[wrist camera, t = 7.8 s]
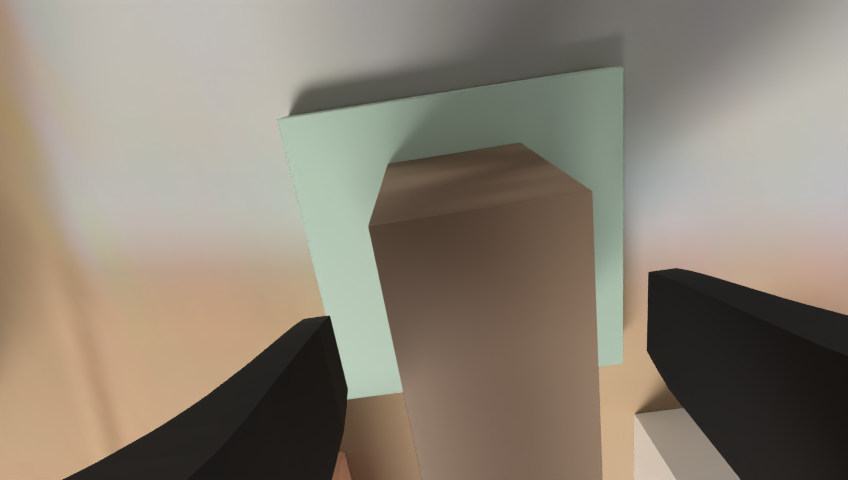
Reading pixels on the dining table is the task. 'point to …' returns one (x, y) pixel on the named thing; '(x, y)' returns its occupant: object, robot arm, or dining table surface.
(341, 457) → the terracotta brick
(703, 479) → the pale grey brick
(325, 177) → the sage green board
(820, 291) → the dining table surface
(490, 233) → the walnut brick
